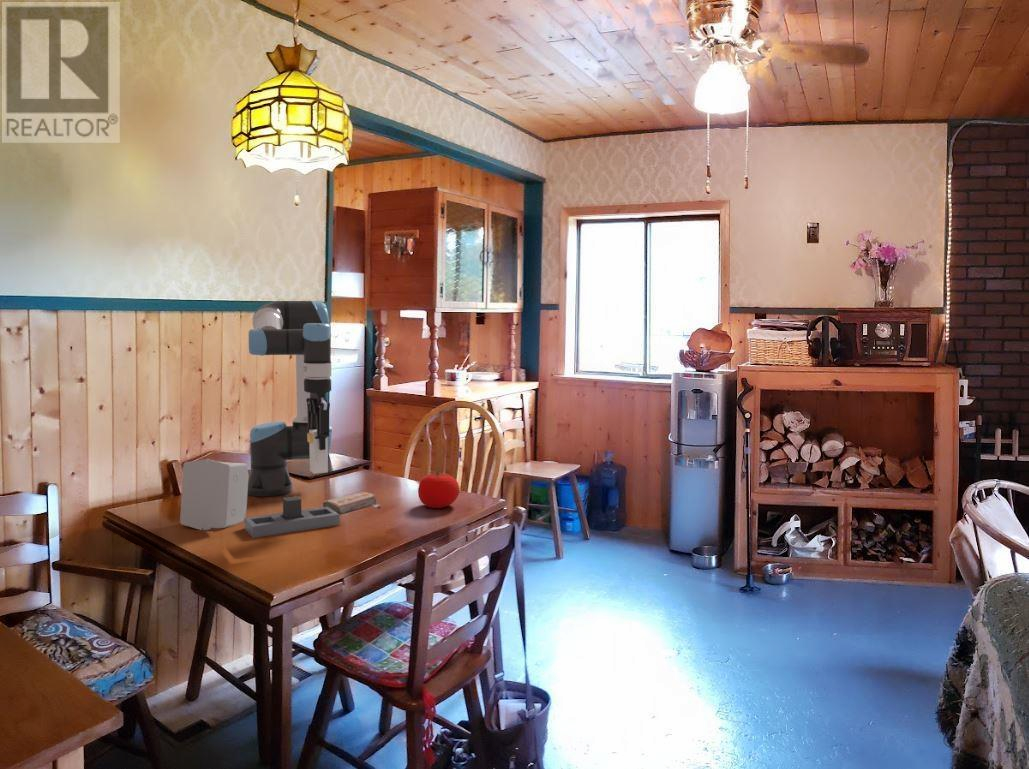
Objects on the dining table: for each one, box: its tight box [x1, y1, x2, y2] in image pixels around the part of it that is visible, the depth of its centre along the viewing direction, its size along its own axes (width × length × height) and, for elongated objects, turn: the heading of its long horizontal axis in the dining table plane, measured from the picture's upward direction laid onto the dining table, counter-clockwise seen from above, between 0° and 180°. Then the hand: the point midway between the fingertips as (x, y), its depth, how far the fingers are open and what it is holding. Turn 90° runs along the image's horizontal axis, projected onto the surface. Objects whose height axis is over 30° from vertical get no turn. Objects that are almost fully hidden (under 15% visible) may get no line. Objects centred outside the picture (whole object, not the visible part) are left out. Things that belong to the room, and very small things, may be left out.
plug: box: [307, 429, 329, 475], centre depth 215 cm, size 4×5×12 cm
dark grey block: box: [282, 496, 302, 520], centre depth 213 cm, size 4×4×8 cm
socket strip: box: [243, 506, 341, 539], centre depth 213 cm, size 10×24×4 cm, turn 123°
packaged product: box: [322, 491, 382, 515], centre depth 234 cm, size 18×5×10 cm
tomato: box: [417, 472, 460, 509], centre depth 240 cm, size 12×13×11 cm
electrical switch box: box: [179, 458, 249, 531], centre depth 220 cm, size 15×15×20 cm
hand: (318, 459), depth 216 cm, fingers closed on plug, 4 cm apart
